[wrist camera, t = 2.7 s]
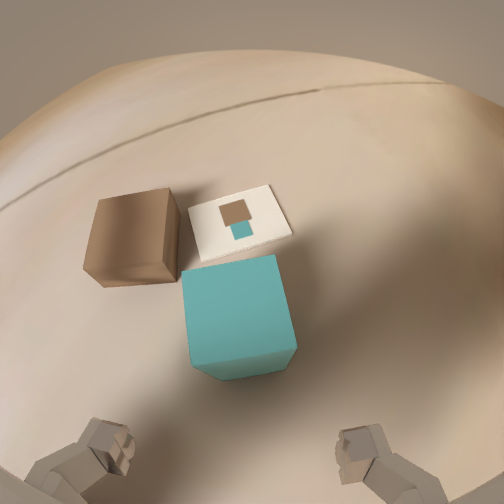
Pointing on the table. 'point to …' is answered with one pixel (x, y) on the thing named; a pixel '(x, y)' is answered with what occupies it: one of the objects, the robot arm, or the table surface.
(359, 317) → the table surface
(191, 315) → the teal brick
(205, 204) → the page
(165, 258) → the walnut brick
